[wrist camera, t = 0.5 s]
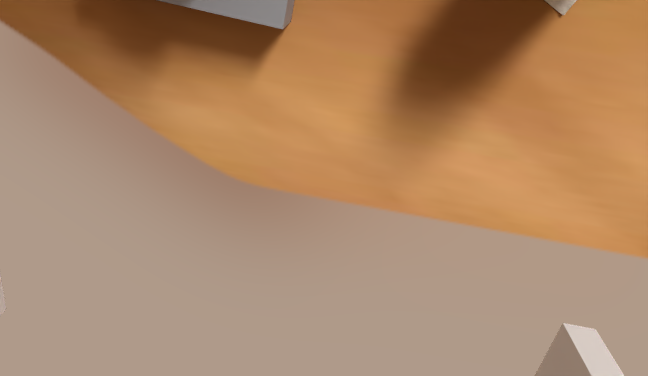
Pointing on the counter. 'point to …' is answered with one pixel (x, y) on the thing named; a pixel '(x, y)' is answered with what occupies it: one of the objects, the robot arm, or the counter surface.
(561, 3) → the condiment
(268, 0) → the button board
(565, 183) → the counter surface
